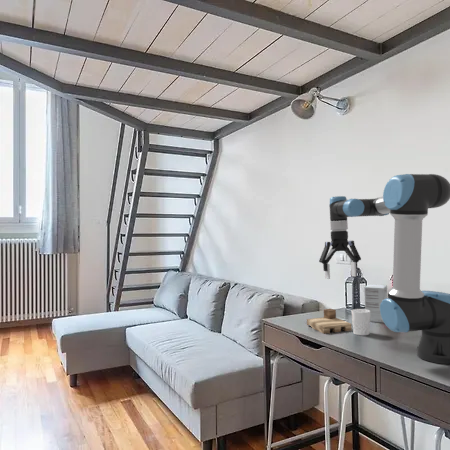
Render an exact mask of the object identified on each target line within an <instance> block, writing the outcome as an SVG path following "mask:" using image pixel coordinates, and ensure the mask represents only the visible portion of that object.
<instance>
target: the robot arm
mask: <svg viewBox="0 0 450 450" xmlns="http://www.w3.org/2000/svg"><path fill="white" fill-rule="evenodd" d="M448 201H450V181H449V180H448V179H447V178H446V177H445V176H442V175H439V174H434V173H429V174H427V173H426V174H423V173H421V174H420V173H419V174H418V173H416V174H415V173H405V174H397V175H394V176H391V178H390V179H389V180H388V181H387V183H386V184H385V185H384V190H383V192H382V196H380V197H377V198H360V199H359V198H349V199H347V196H343V195H342V196H341V195H339V196H338V195H337V196H331V197H330V198H329V219H330V220H329V221H330V223H329V224H330V230H331V231H330V240H331V241H324V248H323V250H322V253H321V255H320V258H319V259H318V260H319V261H318V262H319V263H320V264H322V265H323V266H322V267H323V272H324V277H325V279H328V280H329V279H331V273H330V272H331V271H330V270H331V269H330V267H331V266H330V263H329V262H330V261H331V259H332V257H333V256H334V255H335V253H337V252H345V254H346V255H347V256H348V257H349V258H350V260H351V262H350V267H351V268H350V272H351V277H355V278H357V269H358V263H359V261H362V258H361V255H360V253H359V252H358V249H357V247H356V245H355V241H354V240H348V239H349V231H348V229H349V227H348V224H349V223H348V218H356V217H376V216H377V217H384V216H388V215H390V216H391V217H393V219H394V228H393V229H394V231H393V232H394V235H393V267H392V287H391V288H390V289H387V298H386V299H384V300H383V301H382V302H381V304H380V313H381V317H382V319H383V321H384V323H383V324H384V325H385V326H386V327H387V328H388V329H389V330H390V331H391V332H394V333H409V332H416V331H421V336H420V338H419V343H418V346H417V348H416V355H417V357H418V358H420V359H422V360H424V361H427V362H431V363H436V364H442V365H450V293H448V292H442V291H441V292H440V291H434V290H421V289H420V288H421V270H422V269H421V266H422V265H421V264H422V243H423V242H422V241H423V240H422V239H423V238H422V237H423V220H424V219H425V218H426V217H427V216H428V214H429V209H435V208H436V209H437V208H440V207H442V206H444V205H445V204H447V203H448ZM348 246H349V247H348Z"/></svg>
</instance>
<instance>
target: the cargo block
mask: <svg viewBox="0 0 450 450" xmlns="http://www.w3.org/2000/svg"><path fill="white" fill-rule="evenodd" d="M323 317H324V318H326V319H335V318H337V311H336V309H333V308H326V309H325V308H324V309H323Z"/></svg>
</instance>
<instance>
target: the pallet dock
mask: <svg viewBox="0 0 450 450" xmlns="http://www.w3.org/2000/svg"><path fill="white" fill-rule="evenodd" d="M307 325H310V326H311V327H312V328H311V327H310V328H311V329H314V330H316V331H317V332H320V333H322V334H325V335H326V334H330V333H331V331H332V332H334V333H341V332H342V331H345V332H348V331H349V332H350V331H353V325H352V322H351V323H350V322H348V321H345V320H343V319H340V318H337V317H336V318H335V319H326V318H324V316H322V317H314V318H306V326H307Z"/></svg>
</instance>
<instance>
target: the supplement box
mask: <svg viewBox="0 0 450 450" xmlns="http://www.w3.org/2000/svg"><path fill="white" fill-rule="evenodd" d="M386 298H388V286H387V285H386V284H371V283H370V284H367V285H366V286H365V287H364V309H367V310H370V323H372V322H373V323H383V324H385V323H384V321H383V319H382V317H381V313H380V304H381V302H382V301H383V300H384V299H386Z"/></svg>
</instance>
